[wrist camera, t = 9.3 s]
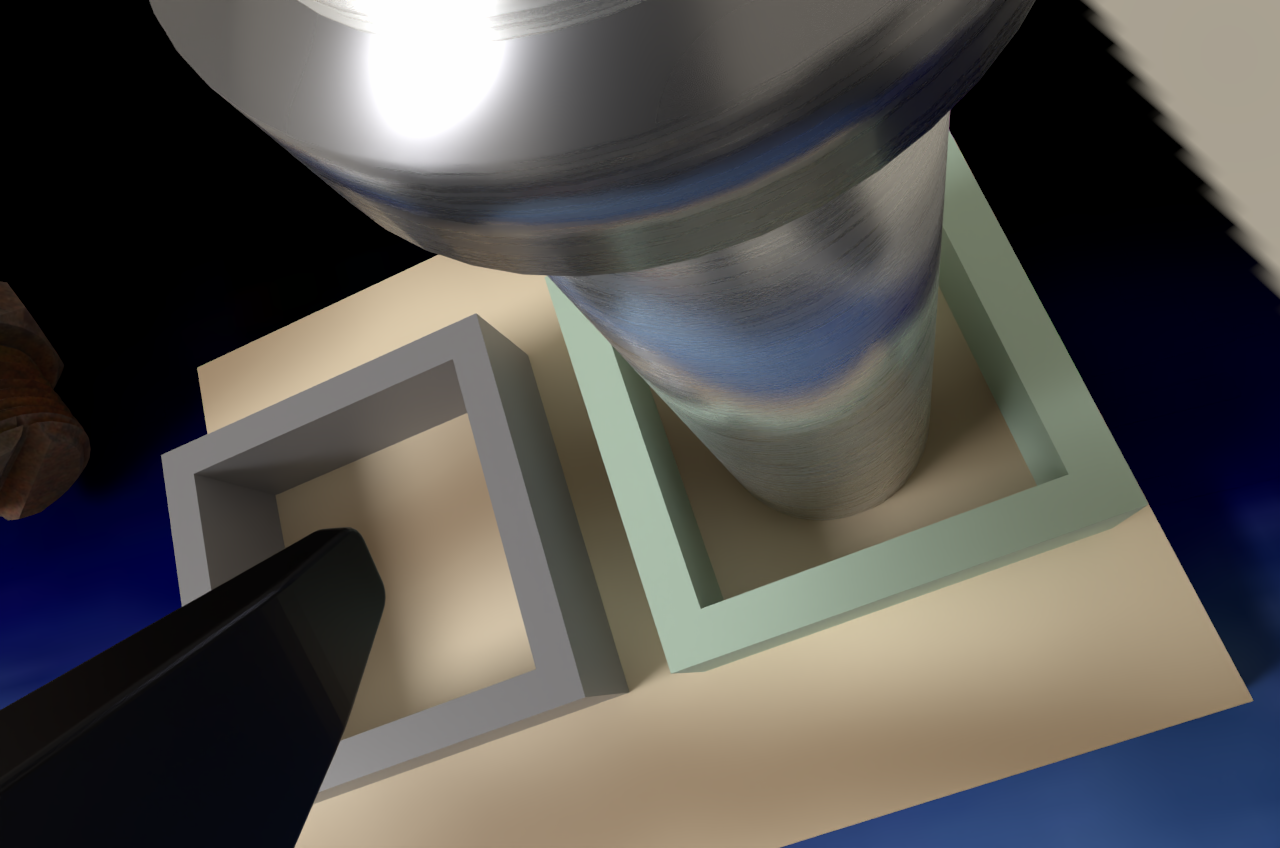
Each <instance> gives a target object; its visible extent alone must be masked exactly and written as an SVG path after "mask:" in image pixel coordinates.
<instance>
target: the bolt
mask: <svg viewBox="0 0 1280 848" xmlns="http://www.w3.org/2000/svg"><path fill="white" fill-rule="evenodd" d="M63 368H64V364H63V362H62V360H61V359H60V357H59V356H58V354H57V353H56V351H55V350H54V348H53V347H52V345H51V344H50V342H49V341H48V339H47V338H46V336H45V335H44V333H43V332H42V330H41V329H40V327H39V326H38V325H37V323H36V322H35V320H34V319H33V318H32V316H31V315H30V313H29V312H28V310H27V309H26V308H25V306H24V305H23V304H22V302H21V301H20V300H19V298H18V297H17V296H16V294H15V293H14V292H13V290H12V289H11V288H10V286H9V285H8V284H7V282H0V516H2V517H4V518H5V519H7V520H15V519H21V518H24V517H27V516H30V515H33V514H36V513H39V512H41V511H43V510H44V509H45V508H47V507H48V506H49V505H50V504H52V503H53V502H54V501H56V500H57V499H58V498H60V497H61V496H62V495H63V494H64V493H65V492H66V491H67V490H68V489H69V488H70V487H71V486H72V485H73V483H74V482H75V481H76V480H77V479H78V477H79V476H80V474H81V473H82V472H83V470H84V468H85V467H86V465H87V463H88V460H89V458H90V450H91V448H90V442H89V437H88V436H87V434H86V433H85V431H84V429H83V427H82V426H81V425H80V424H79V422H78V420H77V419H76V418H75V417H74V416H73V415H72V414H71V412H70V410H69V408H67V406H66V405H65V404H64V402H63V401H62V400H61V397H60V396H59V395H58V394H57V393H56V392H55V391H54V388H55V386H56V384H57V382H58V380H59V378H60V376H61V373H62V371H63Z"/></svg>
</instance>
